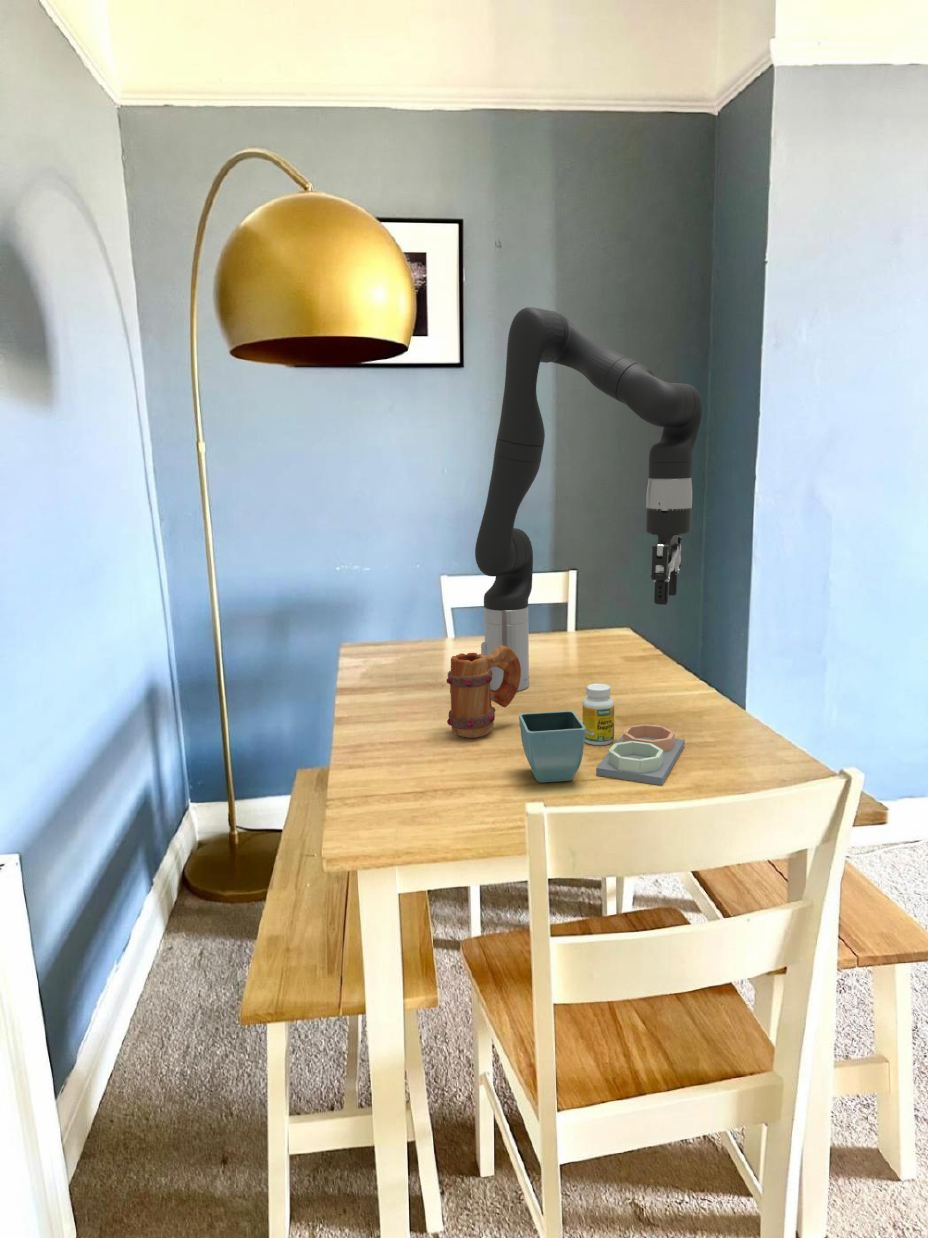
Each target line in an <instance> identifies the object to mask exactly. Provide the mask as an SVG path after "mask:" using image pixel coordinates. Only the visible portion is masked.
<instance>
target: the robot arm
mask: <svg viewBox="0 0 928 1238" xmlns="http://www.w3.org/2000/svg"><path fill="white" fill-rule="evenodd" d="M541 363H545V364H546V363H552V364H558V365H561V366H565V367H568V368H570V369H573V370H575V371H577V372H579V373H580V374H581V375H583V376H584V377H585V378H586V379H587V380H588V381H589V382H590V383H591V384H592V385H593V386H594V387H595V388H596V389H598V390H599V391H601V392H602V393H604V394H606V395H607V396H609V397H611V398H613V399H614V400H616V401H617V402H620V403H622V404H624V405H626V406H627V407H628V408H629V410H631V411H632V412H633V414H634V413H635V415H636V416H638V417H639V418H640V419H641V420H643V421H645V422H647V423H649V424H651V425H653V426H655V427H658V428H659V427H661V428H663V429H662V434H661V438H660V440H659V442H657V443H655V444H653V445H652V446H651V448H650V450H649V454H648V455H649V456H648V480H647V481H648V482H647V488H646V496H645V497H646V500H645V501H646V502H645V504H646V505H645V532H646V533H647V534H649V535H654V536H655V535H656V536H657V543H653V544H652V547H651V548H652V558H651V574H650V578H651V580H652V581H653V582H654V594H653V595H654V599H653V601H654V604H655V605H662V606H663V605H664V606H665V605H667V604H668V603H669V596H673V597H674V596H676V595H677V593H678V576H679V575H678V574H679V573H680V569H681V568H682V541H683V537H682V536H684V535H688V534H690V533H691V530H692V516H693V515H692V514H693V485H692V474H693V473H692V469H693V450H694V448H695V447H694V446H695V444H696V441H697V437H698V433H699V429H700V427H701V426H700V425H701V422H702V421H701V420H702V415H703V401H702V397H701V395H700V392H699V391H698V390H697V388H696V387H694V386H693V385H692V384H689V383H683V382H682V383H681V382H679V383H678V382H668V381H665V380H662V379H661V378H659V377H656V376H655V375H654V373H653V371H652V370H651V369H650V368H649V367H647V366H646V365H644V364H643V363H640V362H638V361H636V360H634V359H632V358H630V357H629V356H627V355H624V354H622V353H620V352H619V351H616V350H614V349H613V348H610V347H608V346H606V345H604V344H602V343H600V342H599V341H597V340H596V339H594V338H592V337H591V336H590V335H589V334H586V333H585V332H584V331H583V330H581V329H580V328H579V327H578V326H577V325H575V324H574V323H573V322H571V320H569V319H568V318H567V317H565V316H564V315H563V314H562V313H560V312H556V311H554V310H548V309H544V308H538V307H530V306H529V307H528V306H527V307H524V308H521V310H519V311H517V313H516V314H515V316H514V317H513V319H512V320H511V324H510V327H509V331H508V337H507V347H506V365H505V378H504V387H503V388H504V389H503V395H502V396H503V397H502V404H501V405H502V406H501V410H500V411H501V412H500V419H499V425H498V430H497V434H496V435H497V436H496V437H497V438H496V441H495V448H494V454H493V463H492V470H491V476H490V480H489V481H490V482H489V485H488V491H487V498H486V502H485V507H484V511H483V514H482V518H481V519H482V520H481V523H480V527H479V531H478V533H477V537H476V541H475V542H476V543H475V549H474V557H475V562H476V566H477V568H478V569H479V571H480V572H481V573H482V574H484V575H486V576H488V577H495V579H494V581H493V584H492V585H491V586H490V588H489V589H488V590H486V592H485V593H484V595H483V614H484V615H483V621H484V626H483V627H484V641H483V642H481V645H480V654H484V655H489V654H491V653H492V652H493V651H494V650H495V649H496V647H498V646H501V645H502V646H506V647H508V648H510V649H512V650H513V652H514V653H515V654H516V656H517V657H518V659H519V662H520V666H521V678H520V683H519V687H518V691H517V692H519V691H522V690H525V689H528V687H529V686H530V663H529V662H530V659H529V658H530V655H529V654H530V653H529V649H530V648H529V647H530V646H529V645H530V644H529V639H530V638H529V598H530V595H531V593H532V589H533V573H534V572H533V571H534V570H533V568H534V567H533V566H534V555H533V554H534V551H533V545H532V541H531V539H530V537H529V535H527V533H526V532H525V531H524V530H522V529H520V528H516V527H515V521H516V517H517V514H518V510H519V508H520V506H521V504H522V502H523V501H524V499H525V496H526V495H527V493H528V492H529V490H530V488H531V486H532V484H533V482H534V481H535V479H536V477H537V476H538V473H539V470H540V467H541V461H542V457H543V452H544V446H545V437H546V436H545V435H546V434H545V433H546V432H545V426H544V422H543V421H544V420H543V417H542V413H541V410H540V406H539V402H538V395H537V383H538V376H539V375H538V374H539V369H540V364H541ZM514 527H515V528H514ZM491 671H492V681H491V682H490V690H491V691H495V690H497V689H498V688H499V687H500V685H501V683H502V681H503V674H504V671H503V670H502V669H500V668H498V667H496V666H495V667H492V668H491Z"/></svg>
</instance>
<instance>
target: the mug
mask: <svg viewBox="0 0 928 1238" xmlns="http://www.w3.org/2000/svg"><path fill="white" fill-rule="evenodd" d="M495 666H496V667H498V668H500V669H502V670H503V671H504V674H503V681H502V683H501V685H500V687H499V688H498V689H497V690H495V691H494V690H491V689H490V682H491V681H492V671H491V668H492V667H495ZM520 678H521V666H520V662H519V659H518V657H517V656H516V654H515V653H514V652H513V650H512V649H510V648H508V647H506V646H502V645H501V646H498V647H496V649H495V650H494V651H493V652H492V653H491V654H489V655H484V654H481V653H479V654H478V652H468V653H459V654H456V655H452V656H451V658H450V670H449V671H448V672H447V678H446V684H448V685H450V687H449V693H450V710H449V711H448V719H447V721H446V723H447V725H448V726H451V732H452V733H453V734H455V735H457V736H460V737H462V738H467V739H470V738H471V739H473V738H474V739H477V738H481V737H484V736H486V735H488V734H489V733H490V732H491V731H492V730H493V728H494V725H495V723H494V721H495V718H496V707H494V706H493V705H492V702H493V703H496V704H497V705H499V706H501V707H502V708H507V707H508V706H509V705H510V704H511V703H512V701H513V700H514V698H515V696H516V694H517V693H518V692H519V691H518V687H519V683H520Z"/></svg>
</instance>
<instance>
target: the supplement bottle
mask: <svg viewBox="0 0 928 1238" xmlns="http://www.w3.org/2000/svg"><path fill="white" fill-rule="evenodd" d="M585 693H586V697H584V698H583V701H582V723H583V725H584V726H585V728H586V732H585V740H584V743H586V744H589V745H592V746H606V745H610V744H612V743H613V742H614V740H615V701H614V699H613V698H612V697H610V695H611V686H610V685H609V684H605V683H592V684H588V685H587V686H586V692H585Z"/></svg>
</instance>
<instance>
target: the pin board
mask: <svg viewBox="0 0 928 1238" xmlns="http://www.w3.org/2000/svg"><path fill="white" fill-rule="evenodd" d="M675 735H676V734H675V732H674V731H673V730H671V729H669V728H668V727H665V726H663V725H654V724H646V723H643V724H635V725H631V726H627V727H626V729H625V730H624V731H623V733H622V736H620V738H619V739H618V740H617V742H615V743H613V744H612V746H611V747H610V748H609V749H608V752H607V754H606V755H605V757H604V758H603V759H602V760H601V761H600V763H599V764H598V765H597V767H596V768H595V770H596V771H595V772H596V773H595V775H596V776H600V777H604V778H611V779H618V780H623V781H624V780H626V781H630V782H637V783H644V784H651V785H657V786H663V785H664V783H665V781H666V780H667V778H668V776H669V774H670V773H671V770H672V769H673V768H674V766H675V764H676V762H677V760H678V759H679V757H680V755H681V753H682V751H683V750H684V748H685V744H686V743H685V742H686V741H685V739H683V738H682V739H680V738H675V737H676V736H675Z"/></svg>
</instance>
